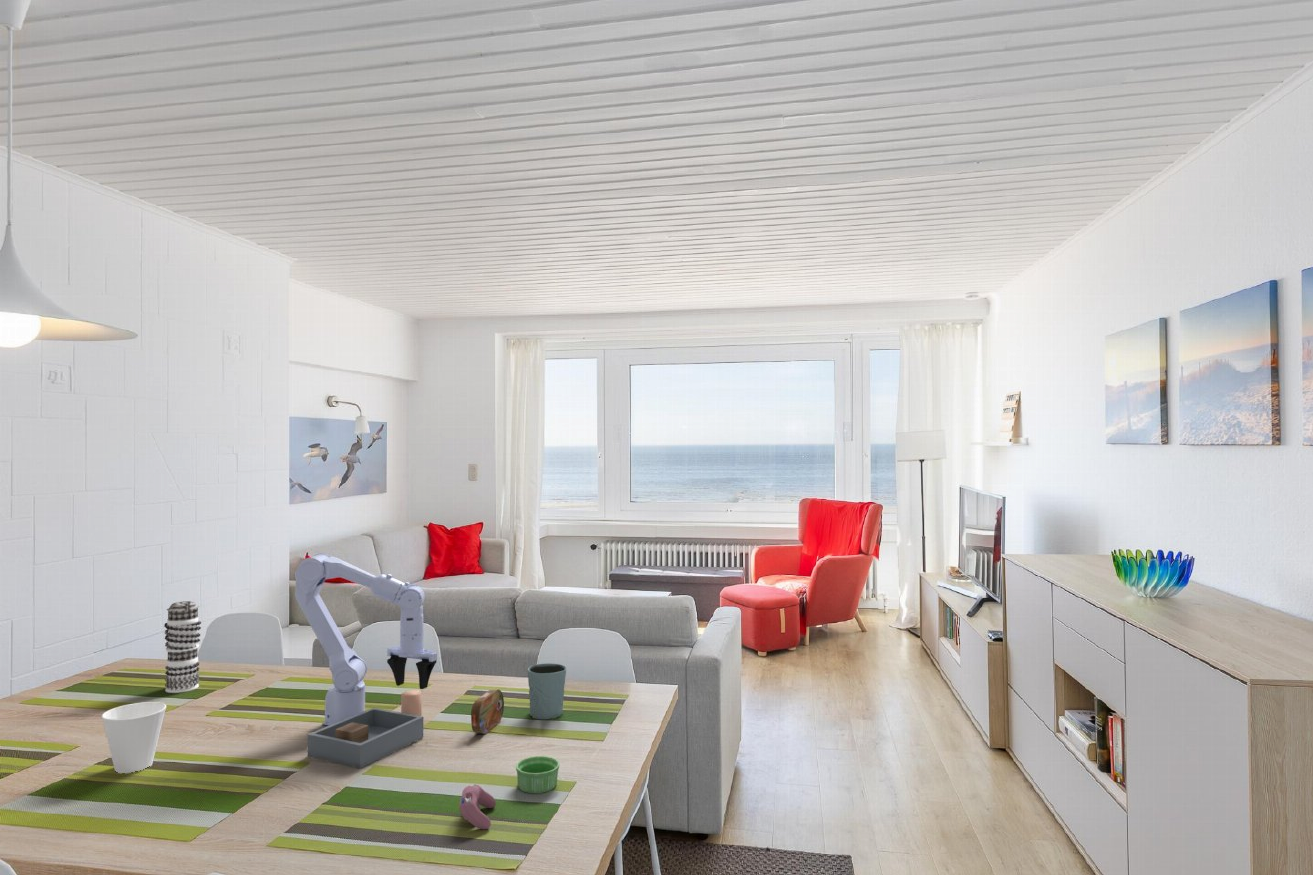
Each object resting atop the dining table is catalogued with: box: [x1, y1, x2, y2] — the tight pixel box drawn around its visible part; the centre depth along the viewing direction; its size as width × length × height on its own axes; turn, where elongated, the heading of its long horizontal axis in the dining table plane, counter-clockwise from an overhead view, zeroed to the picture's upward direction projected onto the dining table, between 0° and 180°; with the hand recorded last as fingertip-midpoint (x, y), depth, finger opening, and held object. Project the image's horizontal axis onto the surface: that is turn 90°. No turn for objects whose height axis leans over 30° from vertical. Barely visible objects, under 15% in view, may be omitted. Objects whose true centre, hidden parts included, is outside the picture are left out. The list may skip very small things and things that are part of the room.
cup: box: [101, 701, 167, 774], centre depth 169 cm, size 12×12×12 cm
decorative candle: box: [163, 600, 202, 694], centre depth 225 cm, size 9×9×25 cm
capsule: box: [400, 689, 423, 717], centre depth 198 cm, size 5×5×7 cm
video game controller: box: [459, 782, 497, 830], centre depth 145 cm, size 10×5×7 cm, turn 5°
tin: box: [470, 689, 505, 735], centre depth 193 cm, size 15×3×8 cm, turn 168°
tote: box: [307, 707, 424, 769], centre depth 180 cm, size 16×20×5 cm
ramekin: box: [515, 755, 560, 794], centre depth 159 cm, size 9×9×4 cm
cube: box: [335, 722, 369, 743], centre depth 176 cm, size 5×5×5 cm
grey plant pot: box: [527, 662, 567, 720], centre depth 203 cm, size 10×10×12 cm
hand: (411, 686), depth 198 cm, fingers open, 7 cm apart
